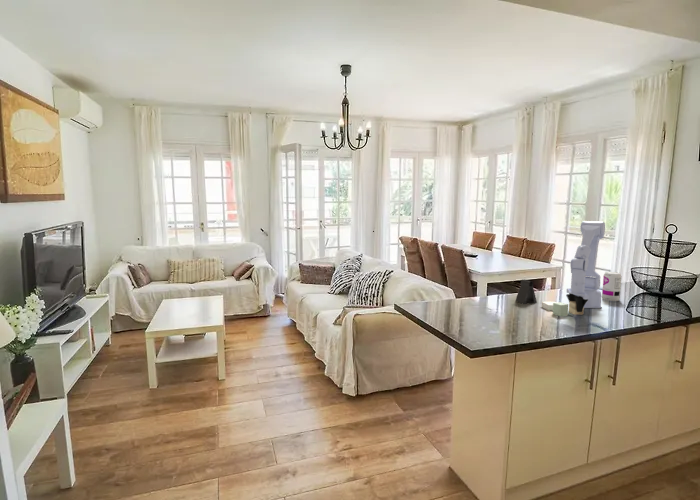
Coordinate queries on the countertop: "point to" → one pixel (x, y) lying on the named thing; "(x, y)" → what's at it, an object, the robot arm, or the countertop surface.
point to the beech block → (574, 308)
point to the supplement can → (611, 286)
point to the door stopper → (526, 292)
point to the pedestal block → (548, 305)
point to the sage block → (560, 309)
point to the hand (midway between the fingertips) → (576, 310)
